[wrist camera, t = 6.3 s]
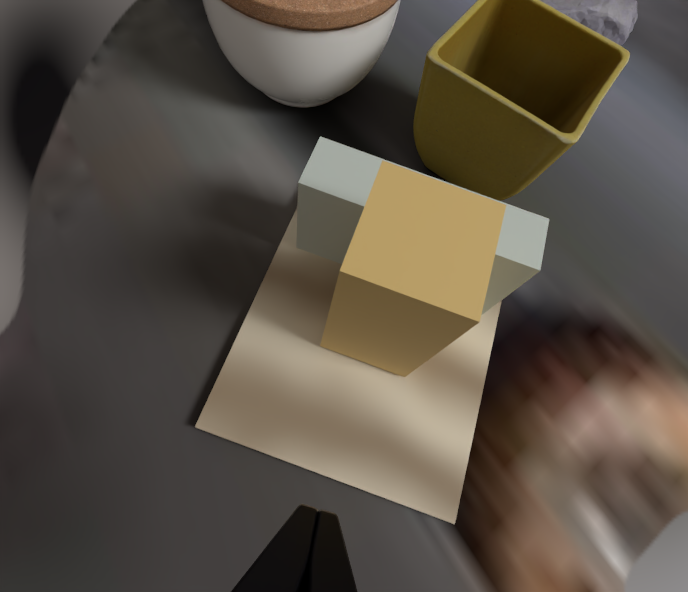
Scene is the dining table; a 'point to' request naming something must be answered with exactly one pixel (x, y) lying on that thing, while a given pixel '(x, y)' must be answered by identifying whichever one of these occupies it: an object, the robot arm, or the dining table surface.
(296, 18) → the lidded bowl
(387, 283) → the block
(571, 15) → the stone block
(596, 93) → the flower pot
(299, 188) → the wall
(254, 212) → the dining table surface
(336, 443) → the board
